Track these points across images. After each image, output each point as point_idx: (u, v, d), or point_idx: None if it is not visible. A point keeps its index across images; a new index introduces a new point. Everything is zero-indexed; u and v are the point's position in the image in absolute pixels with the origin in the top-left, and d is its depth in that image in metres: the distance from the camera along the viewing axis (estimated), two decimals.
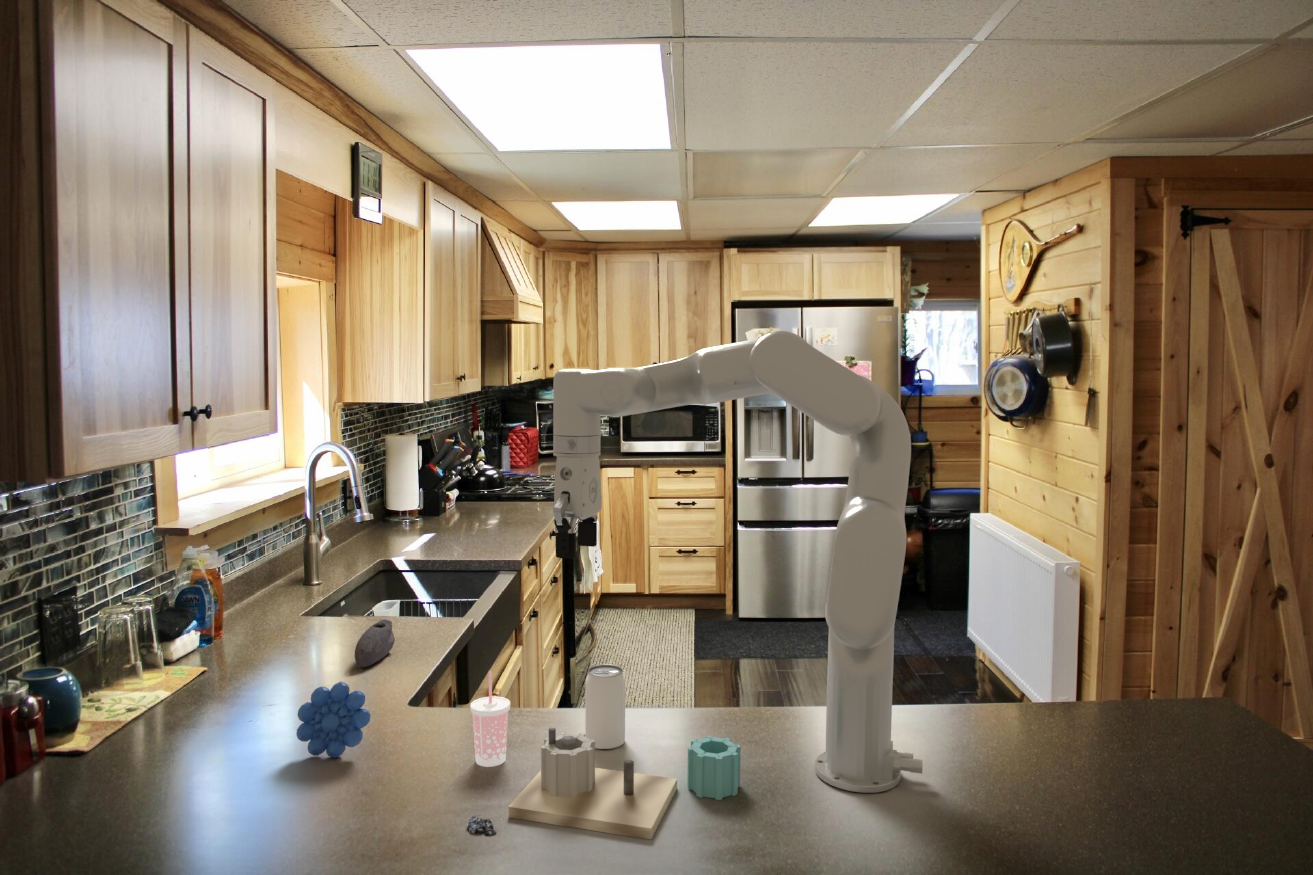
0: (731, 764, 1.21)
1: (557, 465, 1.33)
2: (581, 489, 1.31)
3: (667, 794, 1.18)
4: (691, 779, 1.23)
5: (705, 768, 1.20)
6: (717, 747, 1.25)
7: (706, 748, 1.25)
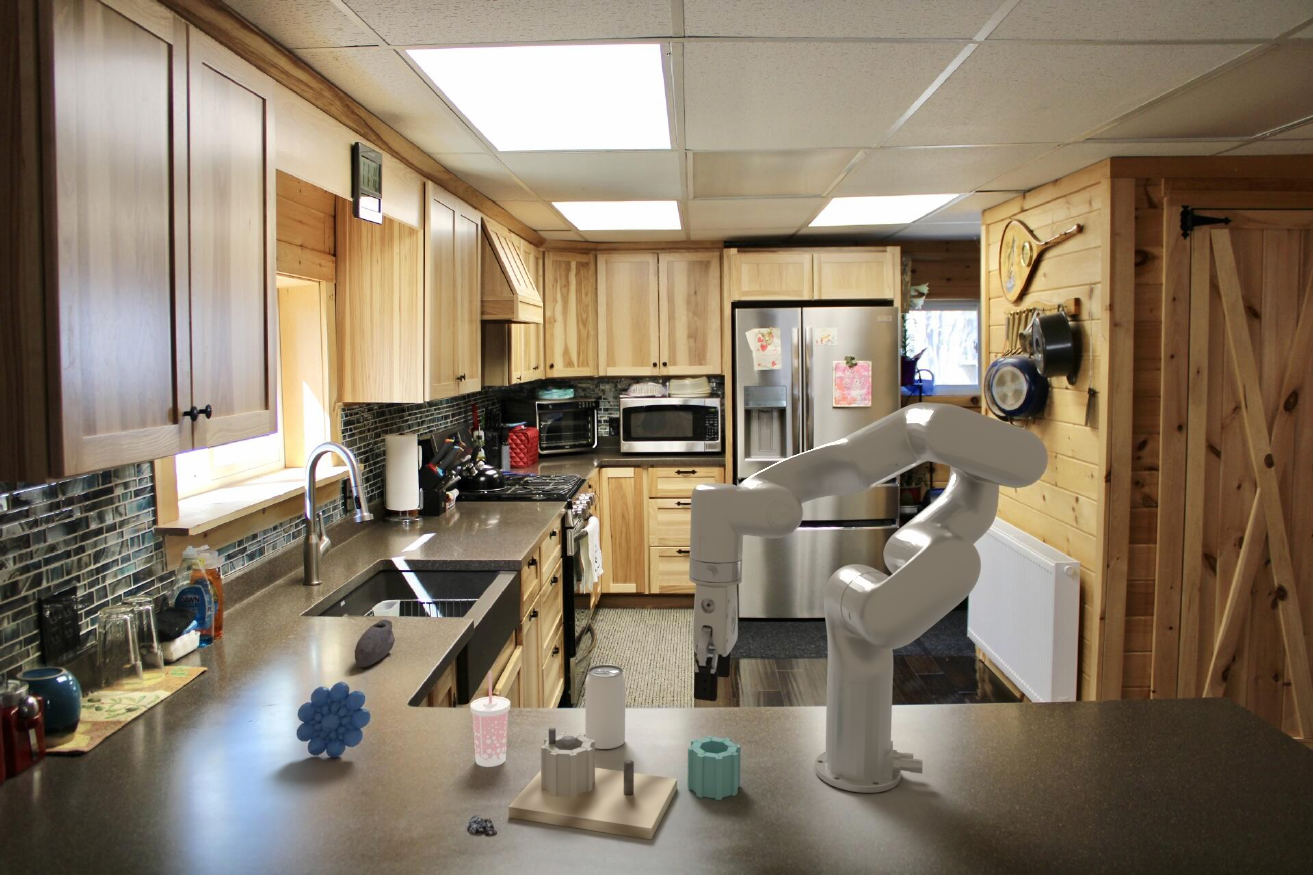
0: (731, 764, 1.21)
1: (697, 595, 1.18)
2: (725, 623, 1.17)
3: (667, 794, 1.18)
4: (691, 779, 1.23)
5: (705, 768, 1.20)
6: (717, 747, 1.25)
7: (706, 748, 1.25)
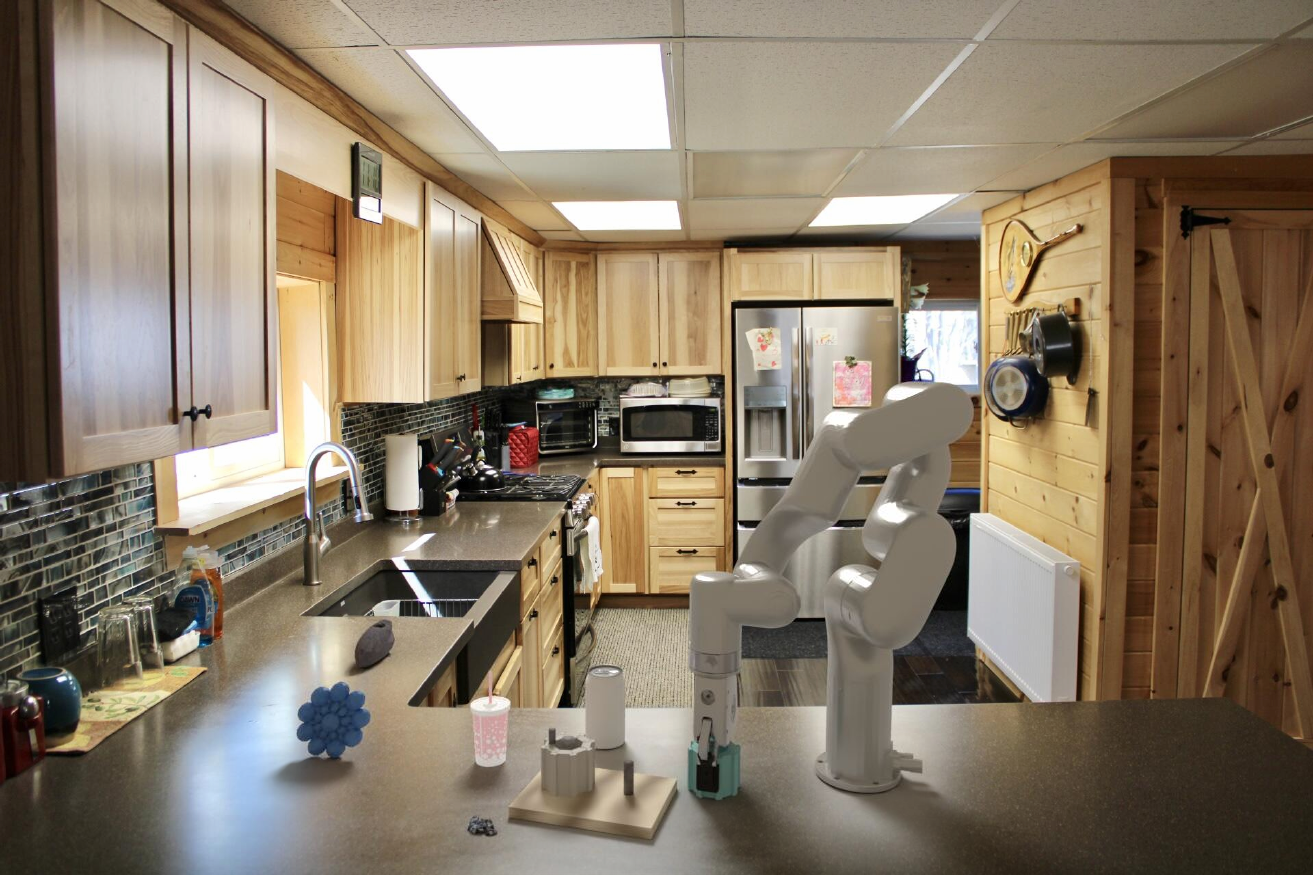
0: (731, 764, 1.21)
1: (697, 686, 1.19)
2: (725, 715, 1.17)
3: (667, 794, 1.18)
4: (691, 779, 1.22)
5: None
6: None
7: None
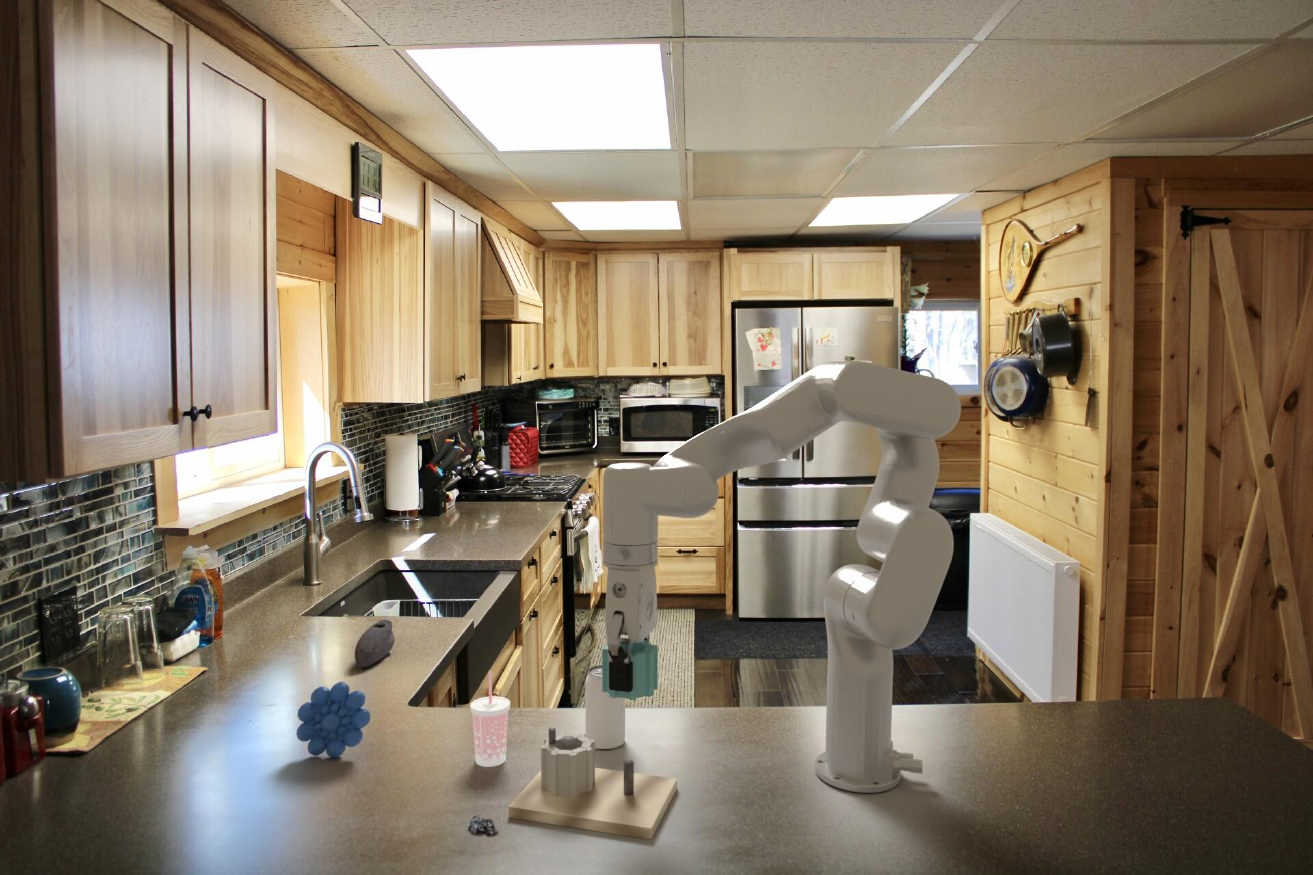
0: (646, 664, 1.15)
1: (609, 579, 1.12)
2: (637, 608, 1.11)
3: (667, 794, 1.18)
4: (605, 680, 1.16)
5: None
6: (634, 648, 1.19)
7: None
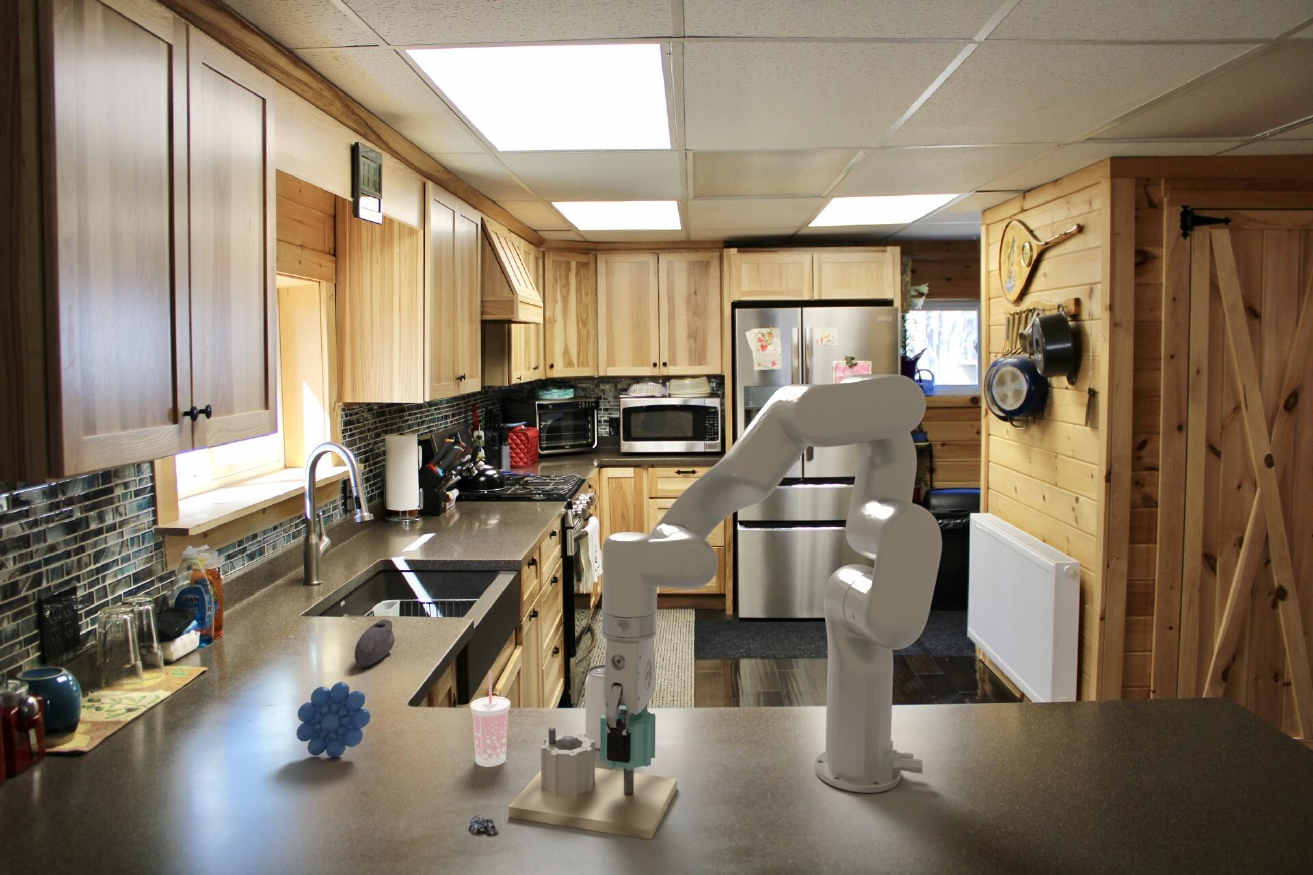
0: (644, 733, 1.15)
1: (607, 651, 1.13)
2: (636, 681, 1.12)
3: (667, 794, 1.18)
4: (603, 749, 1.17)
5: None
6: (632, 716, 1.20)
7: (620, 717, 1.19)
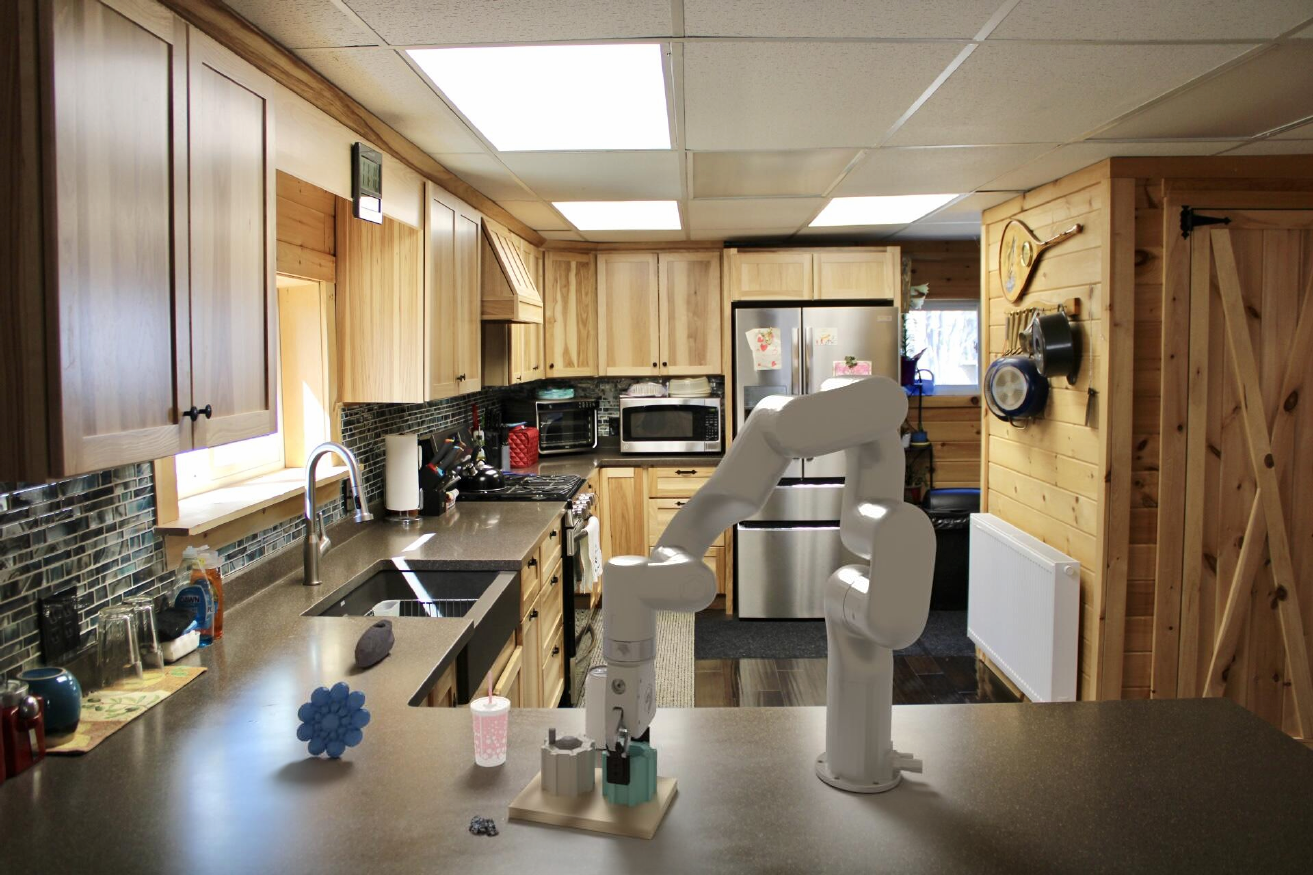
0: (645, 769, 1.16)
1: (608, 675, 1.13)
2: (636, 705, 1.12)
3: (667, 794, 1.18)
4: (605, 785, 1.18)
5: None
6: (634, 751, 1.20)
7: None
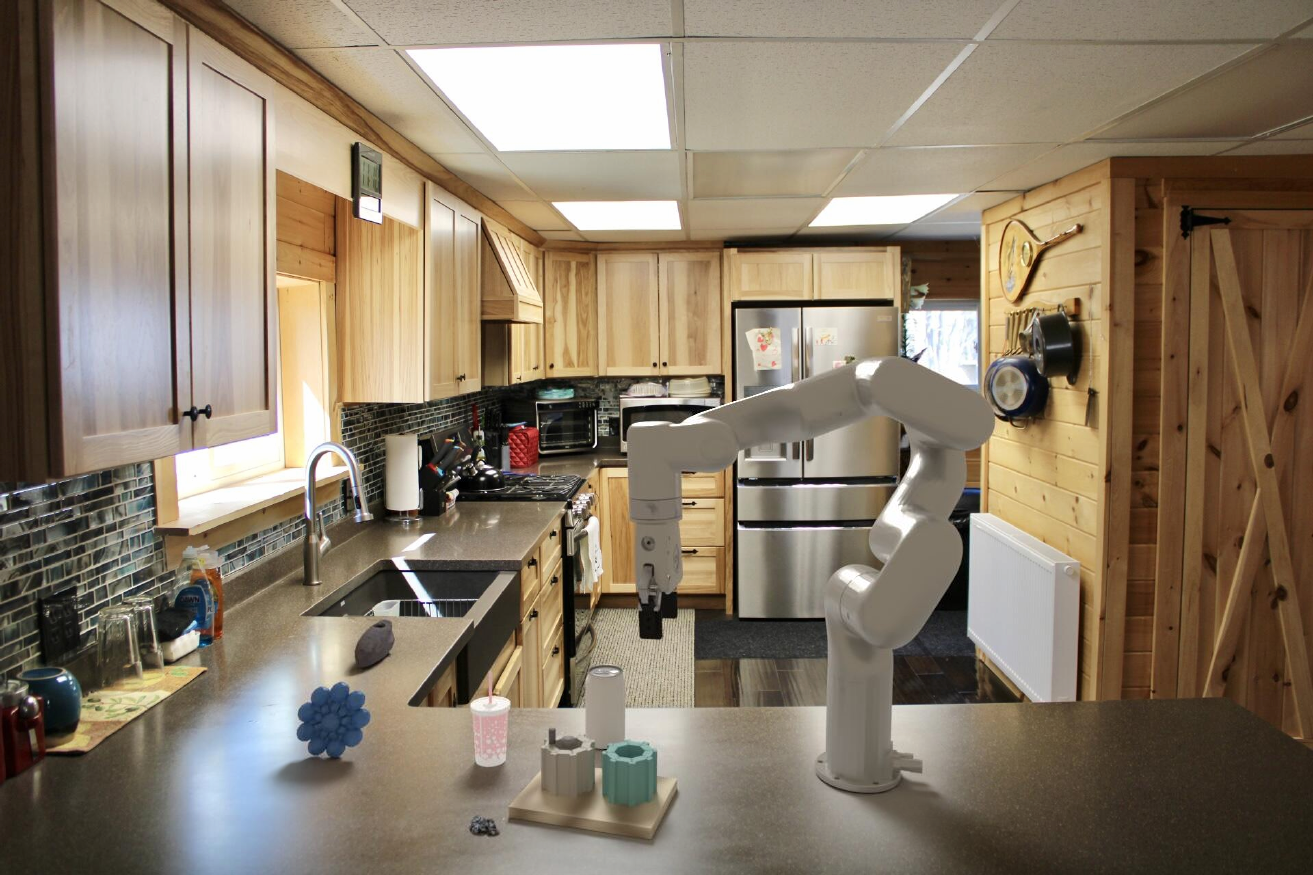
0: (645, 769, 1.16)
1: (637, 533, 1.16)
2: (666, 560, 1.15)
3: (667, 794, 1.18)
4: (605, 785, 1.18)
5: (618, 773, 1.15)
6: (634, 751, 1.20)
7: (622, 752, 1.20)
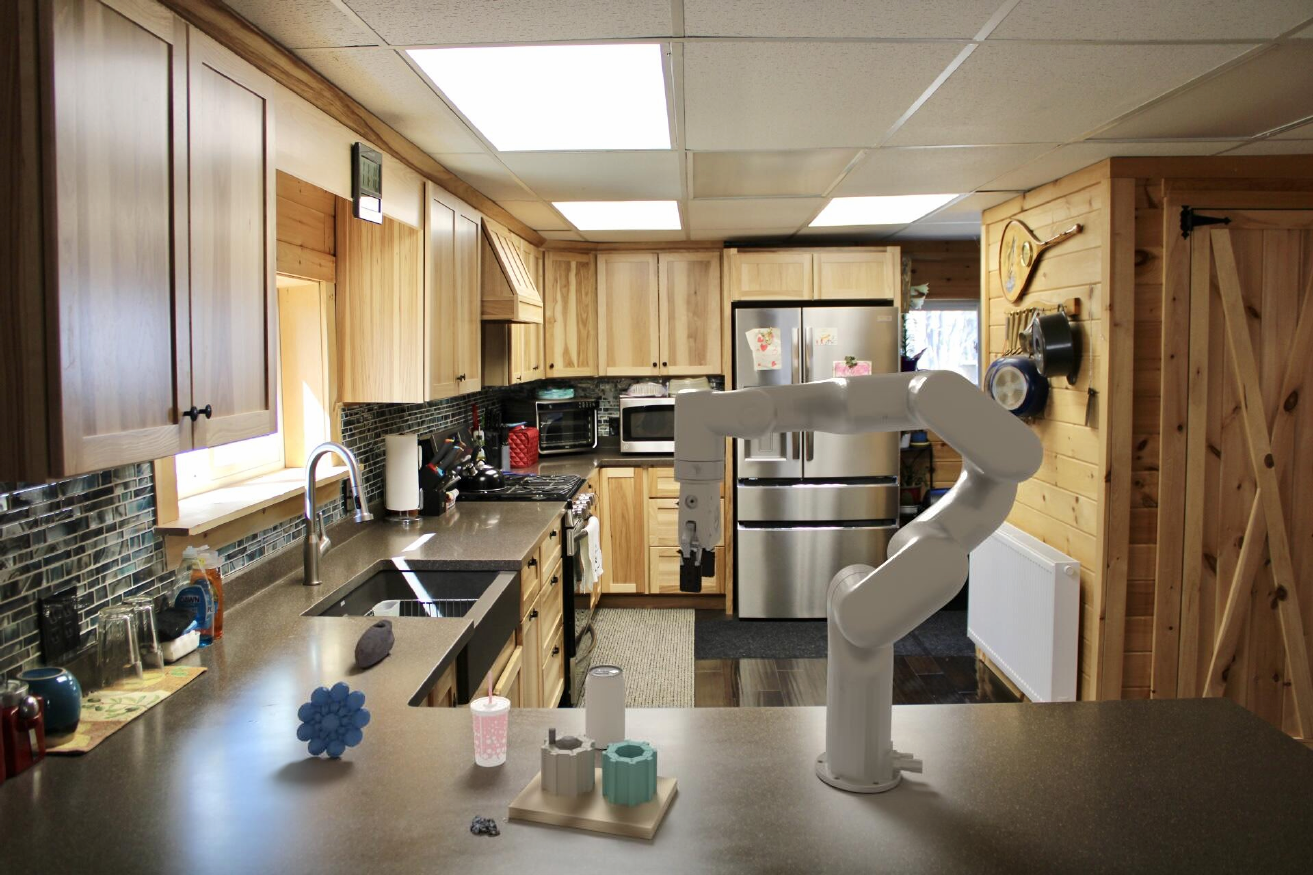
0: (645, 769, 1.16)
1: (681, 492, 1.24)
2: (708, 518, 1.22)
3: (667, 794, 1.18)
4: (605, 785, 1.18)
5: (618, 773, 1.15)
6: (634, 751, 1.20)
7: (622, 752, 1.20)
